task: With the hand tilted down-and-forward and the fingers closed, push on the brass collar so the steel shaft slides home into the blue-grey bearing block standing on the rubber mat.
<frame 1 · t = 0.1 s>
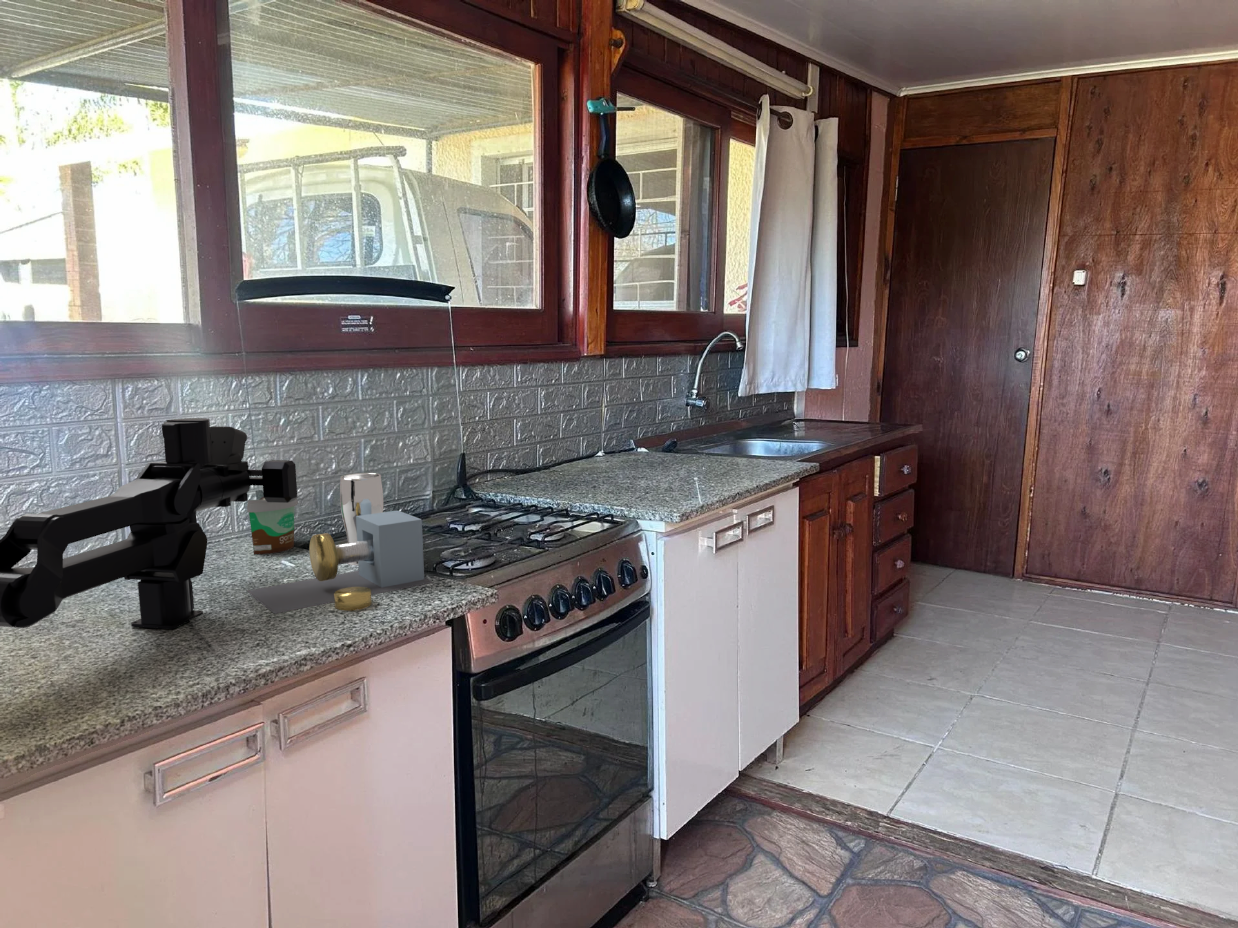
hand: (269, 472, 140), 17 cm above the counter, tool horizontal, fingers open, 9 cm apart
food container: (281, 549, 158), on the counter
bearing block: (391, 577, 137), resting on mat
mat: (341, 588, 133), on the counter
gold domed disc: (353, 608, 124), on the counter
shaft: (365, 550, 134), point 5 cm above the counter, slide at 0.0 cm
beer glass: (365, 563, 148), on the counter
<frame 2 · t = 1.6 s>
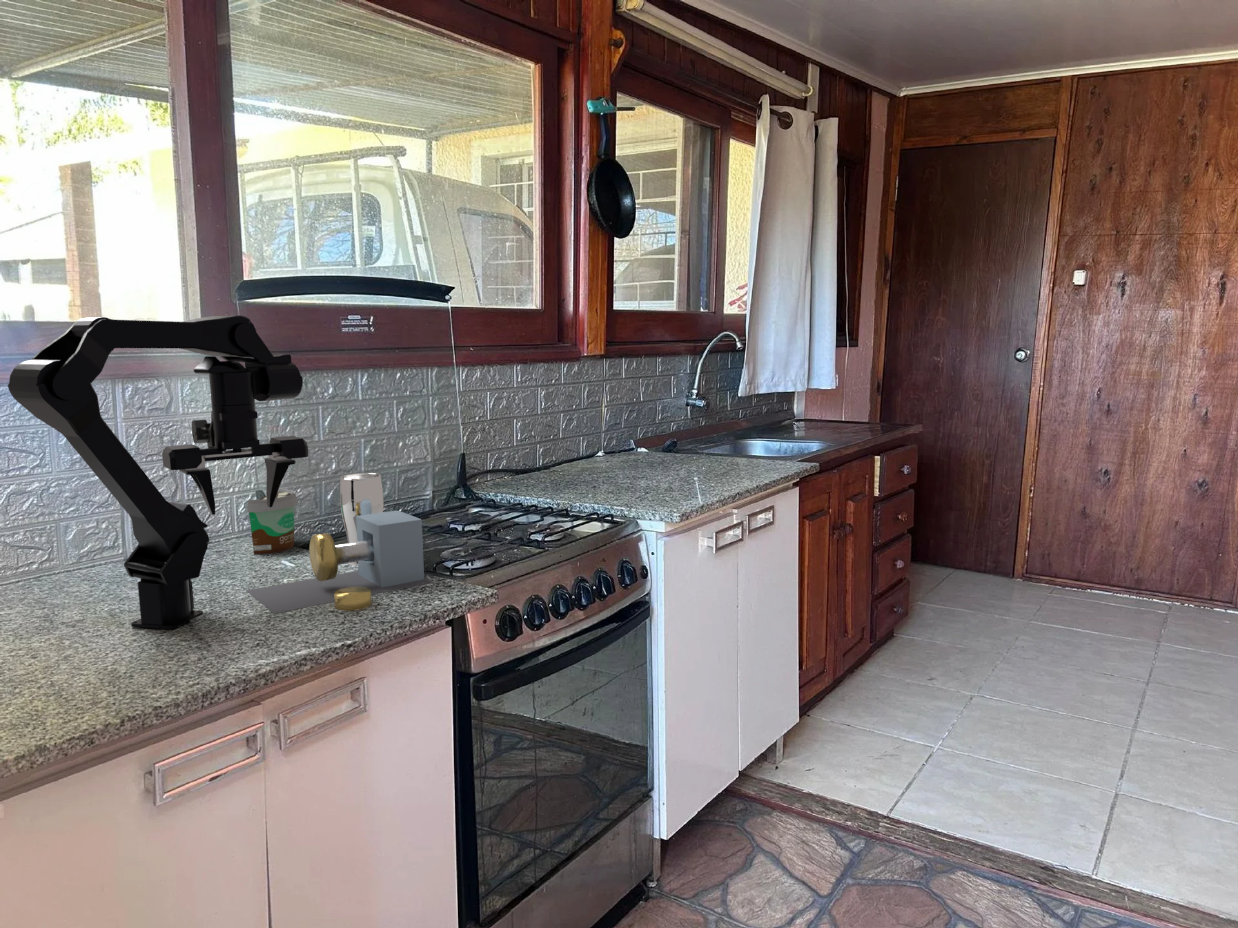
hand: (242, 510, 127), 13 cm above the counter, tool pointing down, fingers open, 8 cm apart
nothing on the counter moved.
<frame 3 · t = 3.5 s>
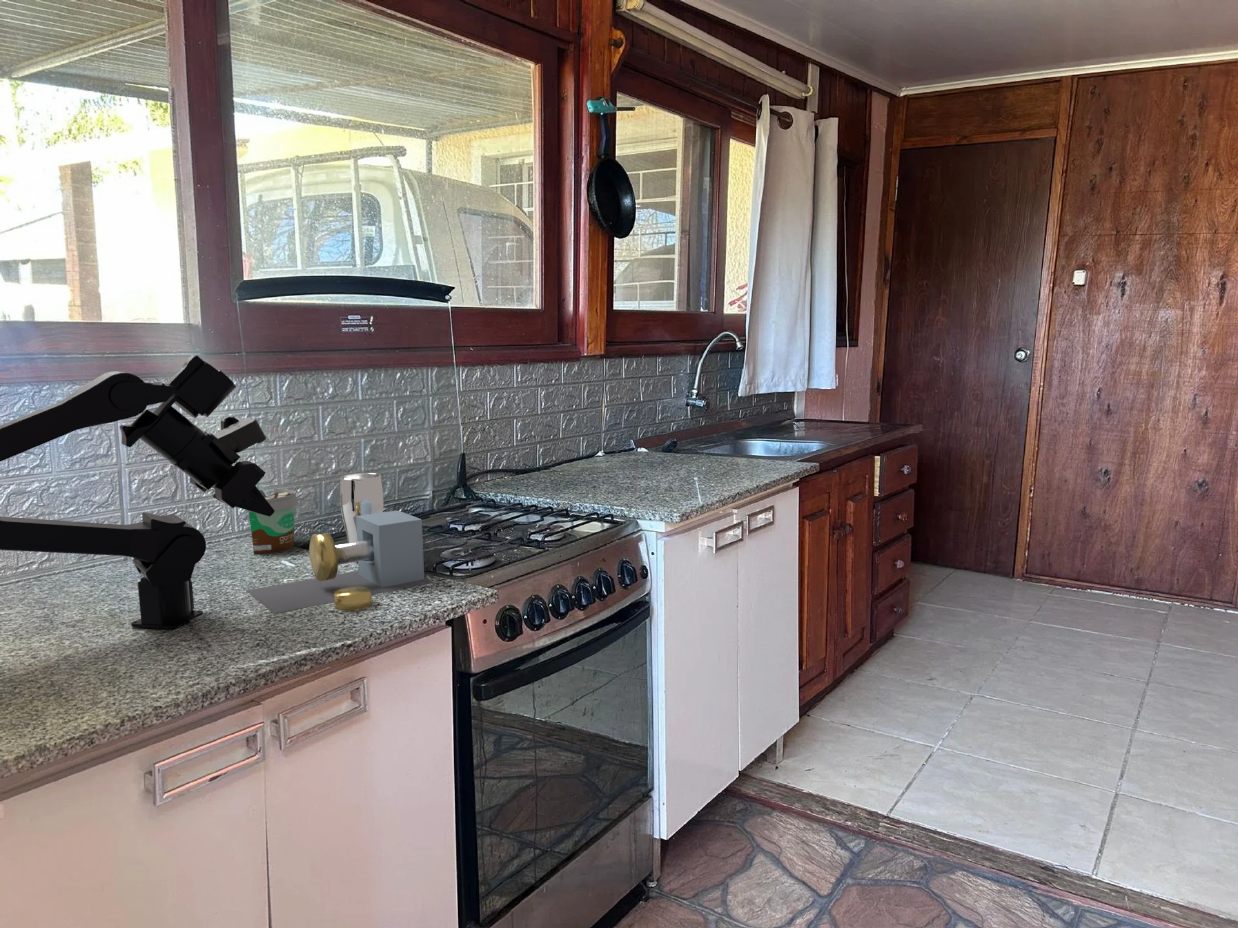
hand: (271, 513, 125), 13 cm above the counter, tool tilted 45°, fingers closed
nothing on the counter moved.
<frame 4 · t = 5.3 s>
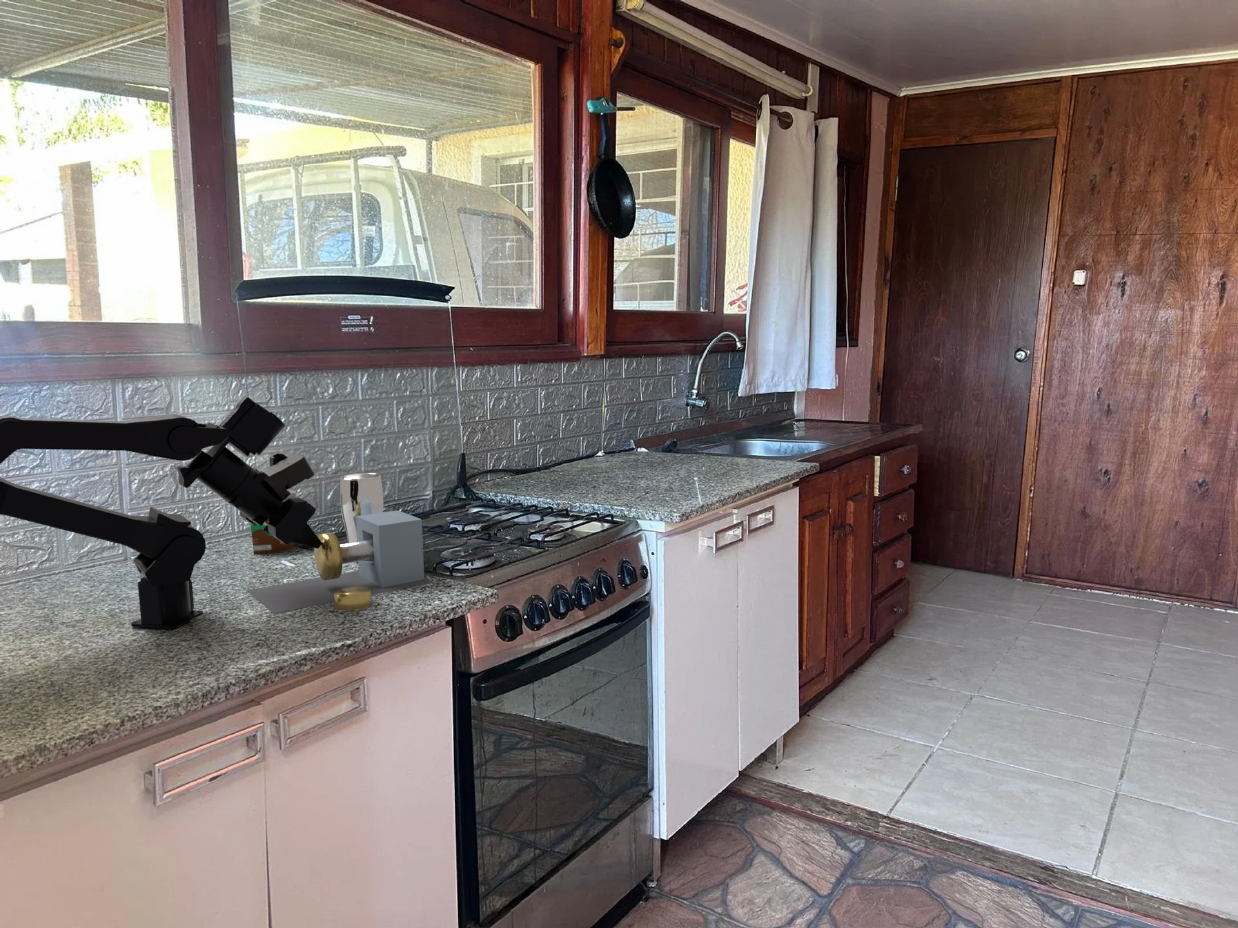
hand: (319, 545, 130), 7 cm above the counter, tool tilted 45°, fingers closed, pressing on shaft
shaft: (369, 549, 135), point 5 cm above the counter, slide at 0.7 cm, touching gripper
everything else where it was.
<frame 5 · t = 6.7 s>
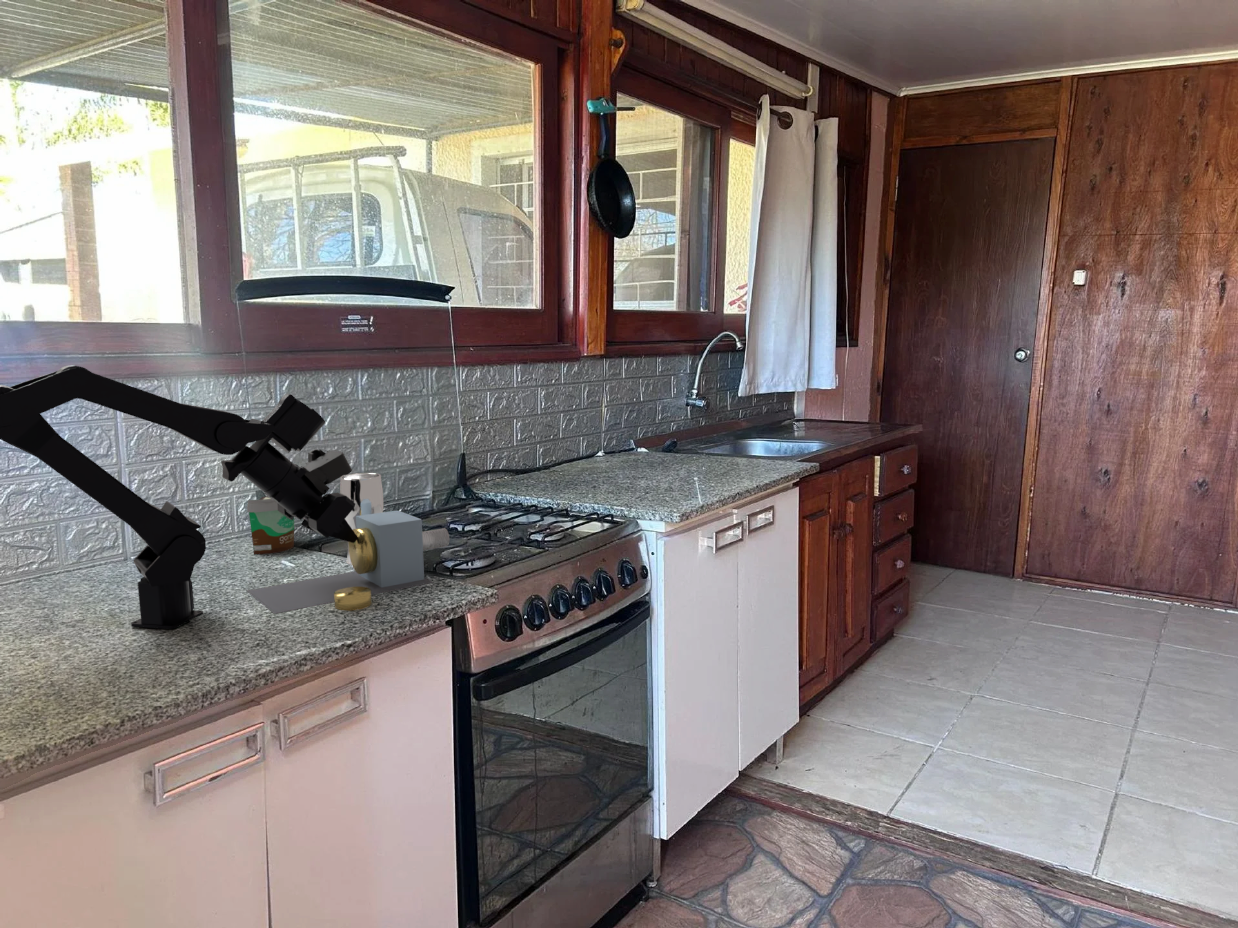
hand: (355, 540, 133), 7 cm above the counter, tool tilted 45°, fingers closed, pressing on shaft
shaft: (402, 544, 138), point 5 cm above the counter, slide at 6.1 cm, touching bearing block, gripper
everything else where it was.
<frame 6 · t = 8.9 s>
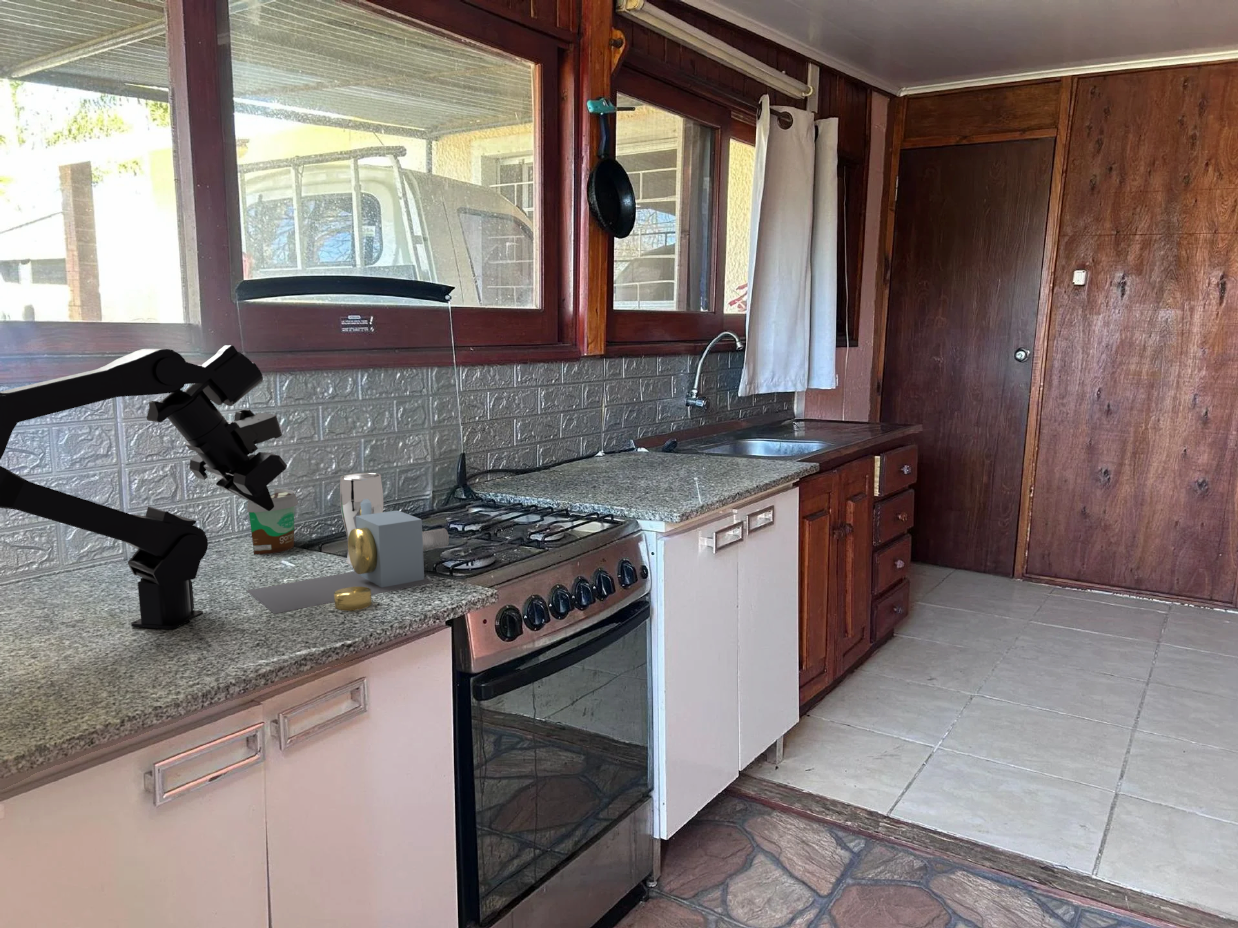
hand: (270, 508, 128), 13 cm above the counter, tool tilted 35°, fingers closed
shaft: (402, 544, 138), point 5 cm above the counter, slide at 6.0 cm
everything else where it was.
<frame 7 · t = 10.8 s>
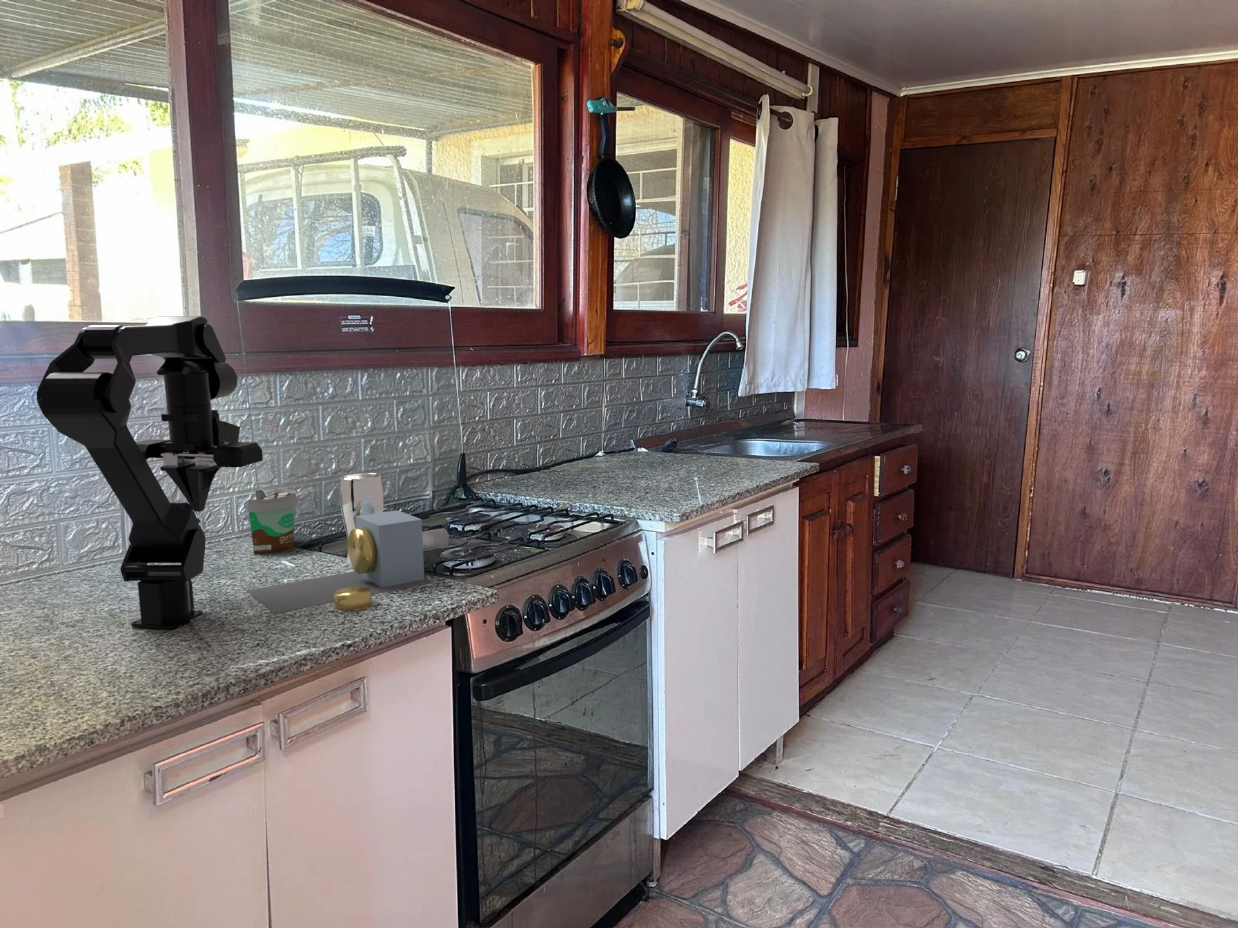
hand: (199, 511, 127), 13 cm above the counter, tool pointing down, fingers closed
nothing on the counter moved.
at the end: shaft slide at 6.0 cm; gold domed disc moved 0.2 cm from its start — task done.
